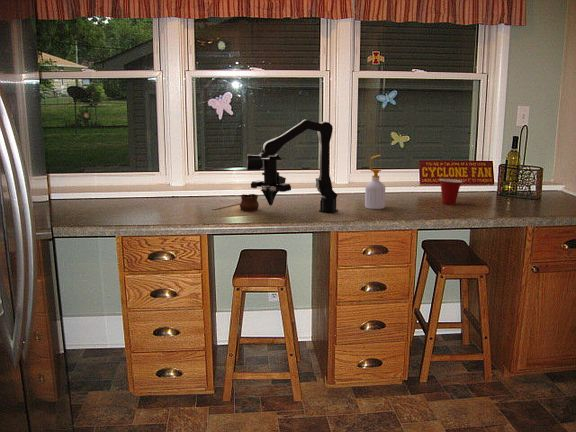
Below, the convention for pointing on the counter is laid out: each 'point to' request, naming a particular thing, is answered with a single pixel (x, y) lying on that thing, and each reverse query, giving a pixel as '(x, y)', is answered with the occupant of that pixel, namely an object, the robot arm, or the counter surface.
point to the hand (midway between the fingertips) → (270, 205)
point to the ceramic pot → (249, 202)
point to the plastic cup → (449, 190)
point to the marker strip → (226, 206)
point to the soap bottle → (375, 191)
